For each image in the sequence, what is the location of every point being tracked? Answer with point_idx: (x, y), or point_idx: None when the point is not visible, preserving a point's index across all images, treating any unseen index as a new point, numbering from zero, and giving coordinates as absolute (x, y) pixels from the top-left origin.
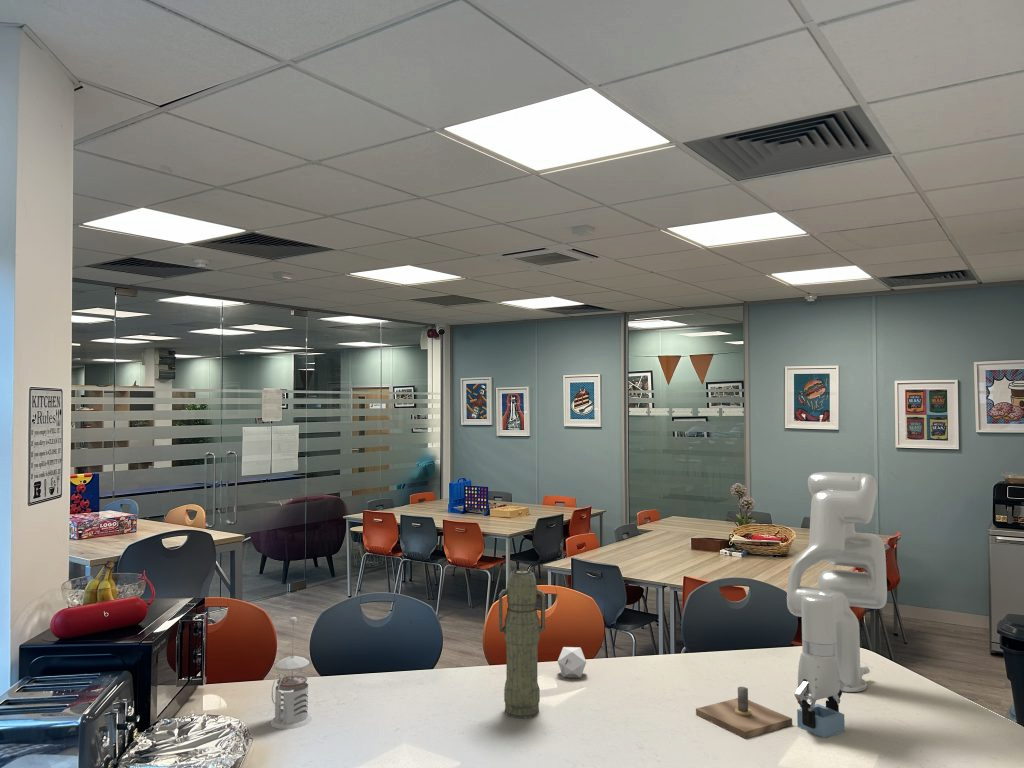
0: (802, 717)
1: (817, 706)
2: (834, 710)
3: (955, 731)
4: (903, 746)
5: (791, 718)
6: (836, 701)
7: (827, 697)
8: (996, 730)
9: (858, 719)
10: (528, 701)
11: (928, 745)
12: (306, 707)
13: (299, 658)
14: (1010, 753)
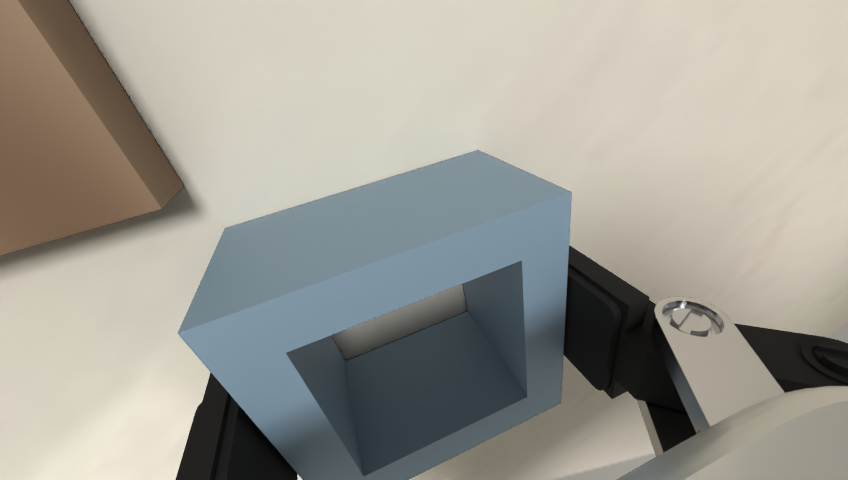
0: (207, 389)
1: (508, 263)
2: (562, 348)
3: (775, 324)
4: (571, 422)
5: (150, 210)
6: (642, 415)
7: (666, 358)
8: (830, 320)
9: (682, 189)
10: None
11: (634, 408)
12: None
13: None
14: None
